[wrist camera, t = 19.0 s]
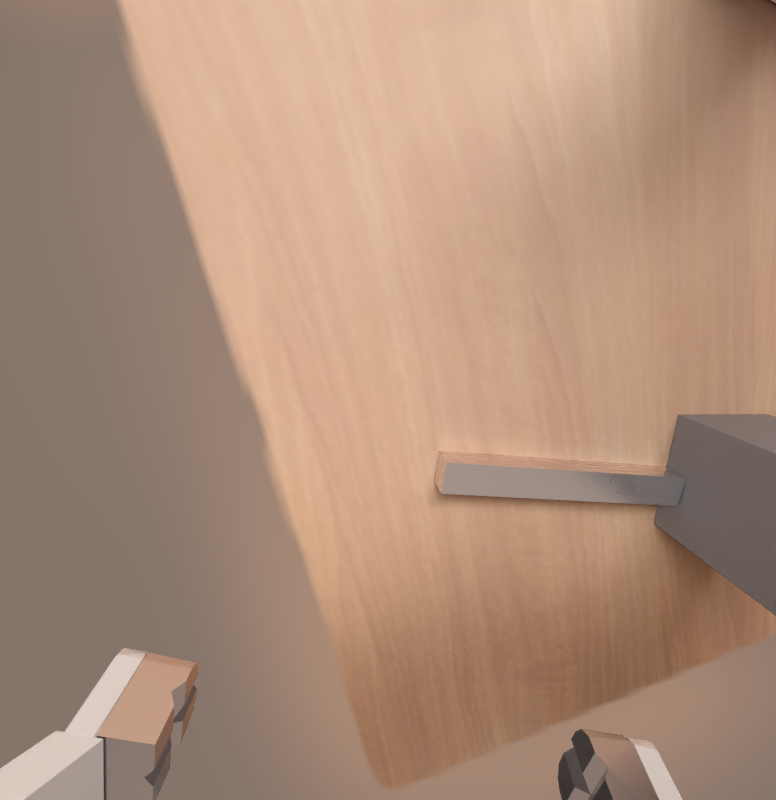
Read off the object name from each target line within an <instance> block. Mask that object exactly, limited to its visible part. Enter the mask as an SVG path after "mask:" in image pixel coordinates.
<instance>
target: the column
mask: <svg viewBox="0 0 776 800" xmlns="http://www.w3.org/2000/svg"><path fill="white" fill-rule="evenodd" d="M667 467H668V468H669V469H671V470H673V471H675V472H676V473H678V474H680V475H682V476H684V477H685V478H686V480H685V483H684V486H683V489H682V493H681V496H680V499H679V502H678V505H677V506H667V505H658V507H657V512H656V516H655V520H654V523H655V524H656V525H657V526H658V527H660V528H661V529H662V530H664V531H665V532H666V533H668V534H669V535H670V536H672V537H673V538H674V539H676V540H677V541H678V542H680V543H681V544H682V545H683V546H685V547H686V548H687V549H689V550H690V551H691V552H693V553H694V554H695V555H697V556H698V557H699V558H701V559H702V560H703V561H704V562H706V563H707V564H708V565H710V566H711V567H712V568H714V569H715V570H716V571H718V572H719V573H720V574H722V575H723V576H724V577H726V578H727V579H728V580H729V581H731V582H732V583H733V584H735V585H736V586H737V587H739V588H740V589H741V590H743V591H744V592H745V593H747V594H748V595H749V596H751V597H752V598H753V599H754V600H756V601H757V602H758V603H760V604H761V605H762V606H764V607H765V608H766V609H768V610H769V611H770V612H772V613H773V614H774V615H775V616H776V417H773V416H770V415H767V414H762V415H679V416H678V420H677V424H676V429H675V433H674V438H673V442H672V446H671V451H670V455H669V459H668V464H667Z"/></svg>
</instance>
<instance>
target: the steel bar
mask: <svg viewBox="0 0 776 800" xmlns="http://www.w3.org/2000/svg"><path fill="white" fill-rule="evenodd" d="M685 480H686V478H685V477H684V476H682V475H680V474H678V473H676V472H675V471H673V470H671V469H669V468H668V467H664V466H650V465H635V464H621V463H606V462H592V461H577V460H563V459H548V458H534V457H519V456H505V455H490V454H476V453H462V452H447V451H439V454H438V460H437V466H436V472H435V478H434V481H435V483H436V485H437V487H438V489H439V491H440V493H441V494H455V495H475V496H494V497H513V498H532V499H552V500H571V501H590V502H609V503H629V504H648V505H667V506H677V505H678V502H679V499H680V496H681V493H682V489H683V486H684V483H685Z"/></svg>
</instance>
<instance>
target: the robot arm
mask: <svg viewBox="0 0 776 800" xmlns="http://www.w3.org/2000/svg"><path fill="white" fill-rule="evenodd" d="M771 1H773V2H775V3H776V0H771ZM198 670H199V662H194V661H189V660H184V659H179V658H174V657H169V656H163V655H158V654H153V653H149V652H144V651H138V650H133V649H126V648H124V649H122V650H121V651H120V652H119V653H118V654H117V655H116V656H115V658H114V659H113V661H112V662H111V664H110V665H109V667H108V668H107V669H106V671H105V672H104V674H103V675H102V677H101V678H100V680H99V681H98V683H97V684H96V686H95V687H94V689H93V690H92V692H91V693H90V694H89V696H88V698H87V699H86V701H85V702H84V703H83V705H82V706H81V708H80V709H79V711H78V712H77V714H76V715H75V717H74V718H73V720H72V721H71V722H70V724H69V726H68V727H67V729H66V730H65V731H64V732H62V731H55V732H53V733H52V734H50V735H49V736H47V737H46V738H45V739H43V740H42V741H40V742H39V743H37V744H36V745H34V746H33V747H31V748H30V749H28V750H27V751H25V752H24V753H22V754H21V755H19V756H18V757H17V758H15V759H13V760H12V761H11V762H9V763H8V764H6V765H5V766H3V767H2V768H0V800H156V799H157V797H158V794H159V792H160V790H161V787H162V785H163V783H164V780H165V778H166V776H167V774H168V771H169V769H170V760H171V750H173V749H174V748H175V747H176V746H177V745H179V744H180V743H181V741H182V739H183V736H184V734H185V731H186V729H187V727H188V724H189V720H190V718H191V715H192V712H193V708H194V704H195V700H196V692H197V689H196V687H195V686H194V685H193V684H194V682H195V680H196V678H197V676H198ZM572 742H573V746H574V748H572V749H570V750H568V751H566V752H564V754H563V756H562V758H561V760H560V762H559V770H558V782H559V789H560V794H561V798H562V800H682V798H681V796H680V794H679V792H678V790H677V788H676V786H675V785H674V782H673V781H672V779H671V777H670V775H669V773H668V771H667V769H666V767H665V765H664V763H663V761H662V759H661V757H660V755H659V753H658V751H657V749H656V748H655V746H653V744H652V743H651V742H650V741H647V740H643V739H636V738H629V737H624V736H623V735H616V734H610V733H603V732H597V731H591V730H585V729H580V730H578V731H576V732H575V733H574V735H573V737H572Z"/></svg>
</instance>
